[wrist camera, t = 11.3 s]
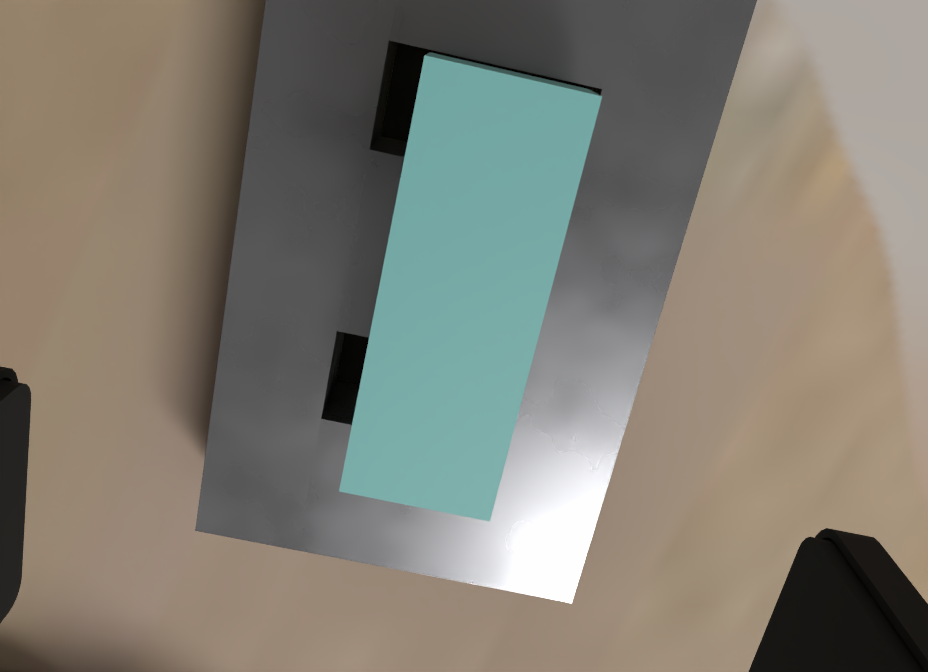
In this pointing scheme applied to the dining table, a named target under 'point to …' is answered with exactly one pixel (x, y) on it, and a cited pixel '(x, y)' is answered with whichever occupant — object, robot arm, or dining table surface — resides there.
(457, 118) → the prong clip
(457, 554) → the slot rail
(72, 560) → the dining table surface
